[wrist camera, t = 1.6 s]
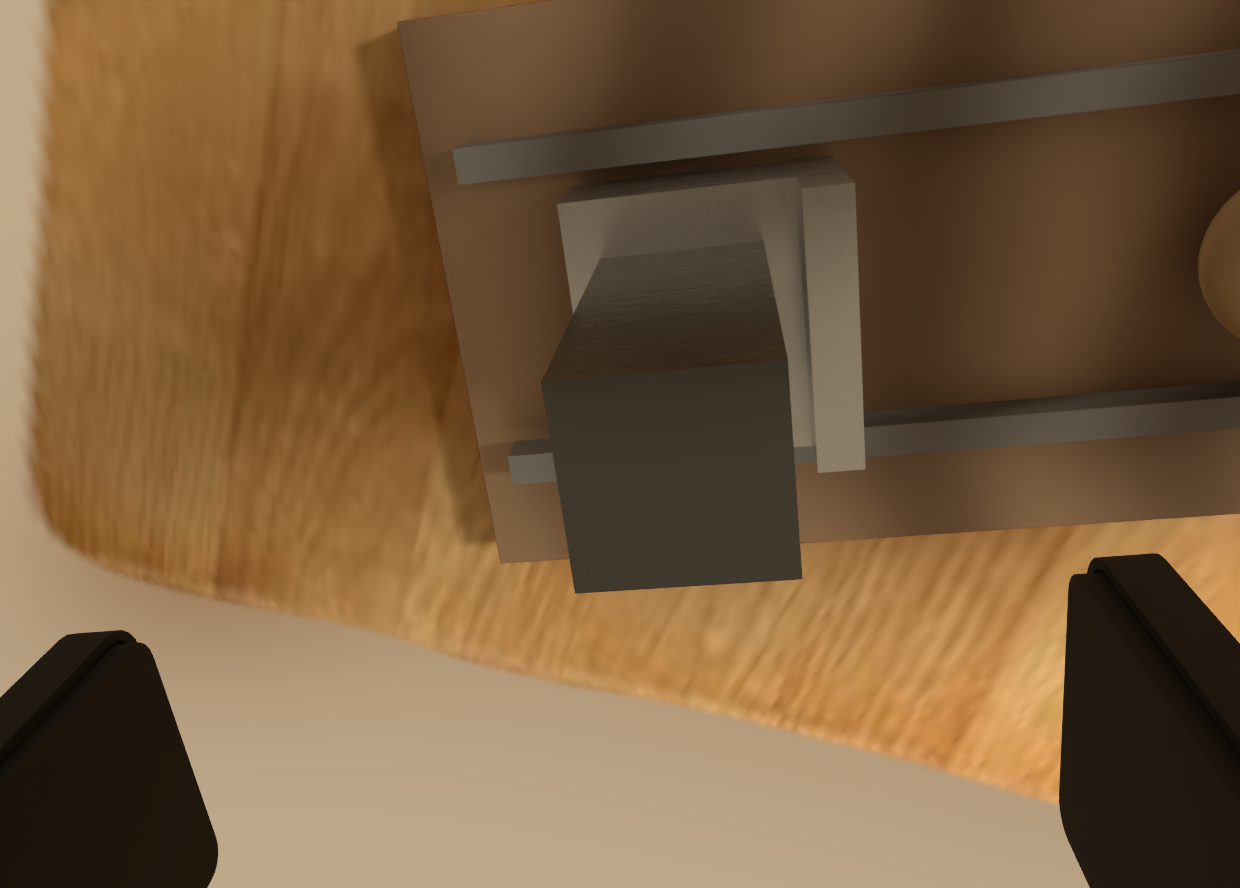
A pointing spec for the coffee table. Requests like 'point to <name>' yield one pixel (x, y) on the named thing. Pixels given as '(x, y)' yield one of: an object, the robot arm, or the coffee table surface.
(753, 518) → the handle
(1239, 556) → the coffee table surface
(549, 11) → the board
